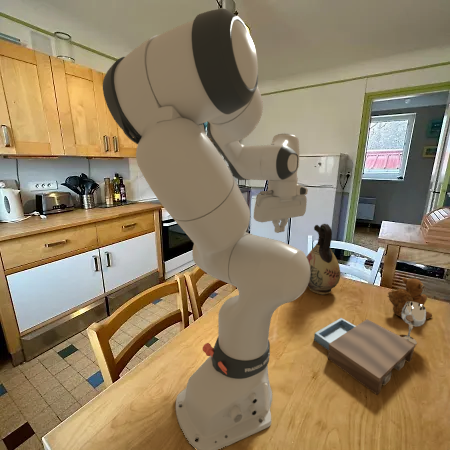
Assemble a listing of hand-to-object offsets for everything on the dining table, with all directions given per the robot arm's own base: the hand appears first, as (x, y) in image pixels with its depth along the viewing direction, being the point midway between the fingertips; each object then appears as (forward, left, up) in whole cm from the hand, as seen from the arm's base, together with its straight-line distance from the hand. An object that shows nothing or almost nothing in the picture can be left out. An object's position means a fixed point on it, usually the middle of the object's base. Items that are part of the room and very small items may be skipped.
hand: (279, 231), depth 79 cm
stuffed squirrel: (+41, -26, -31) cm, 58 cm away
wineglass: (+26, -32, -31) cm, 52 cm away
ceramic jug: (+29, +2, -31) cm, 43 cm away
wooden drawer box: (+8, -29, -31) cm, 43 cm away
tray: (+8, -25, -31) cm, 41 cm away
